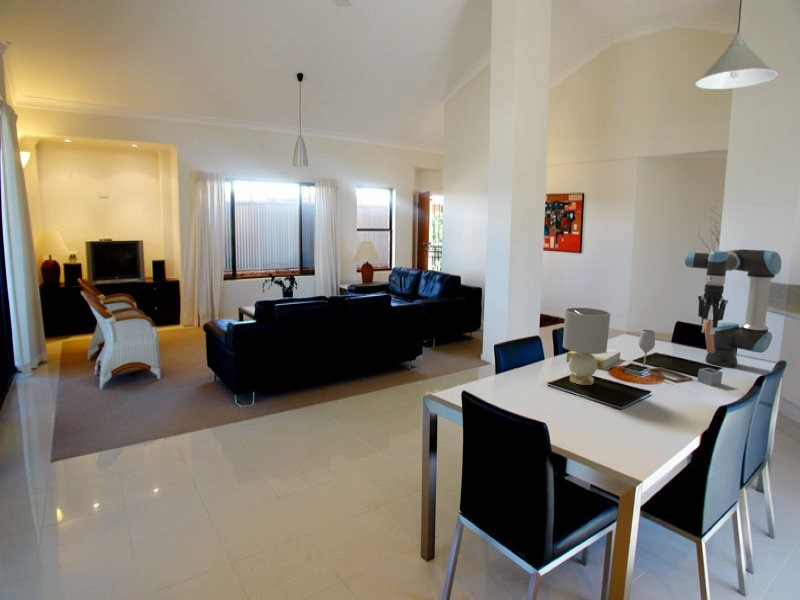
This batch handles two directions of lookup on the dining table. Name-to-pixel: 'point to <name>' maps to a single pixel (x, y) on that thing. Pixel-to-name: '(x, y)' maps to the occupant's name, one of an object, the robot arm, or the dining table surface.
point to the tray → (658, 370)
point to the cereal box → (602, 357)
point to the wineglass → (647, 342)
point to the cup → (709, 376)
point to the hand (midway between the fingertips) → (708, 333)
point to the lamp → (585, 341)
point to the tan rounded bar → (709, 337)
